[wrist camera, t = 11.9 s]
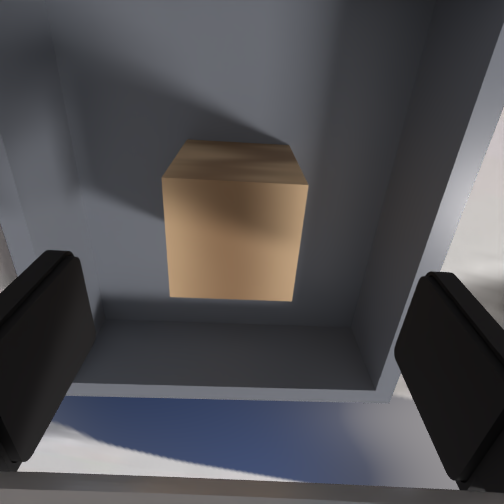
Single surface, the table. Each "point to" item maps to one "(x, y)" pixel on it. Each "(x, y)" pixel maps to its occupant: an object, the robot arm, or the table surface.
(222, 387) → the bin
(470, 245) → the table surface
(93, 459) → the table surface
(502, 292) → the table surface
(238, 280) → the oak block
